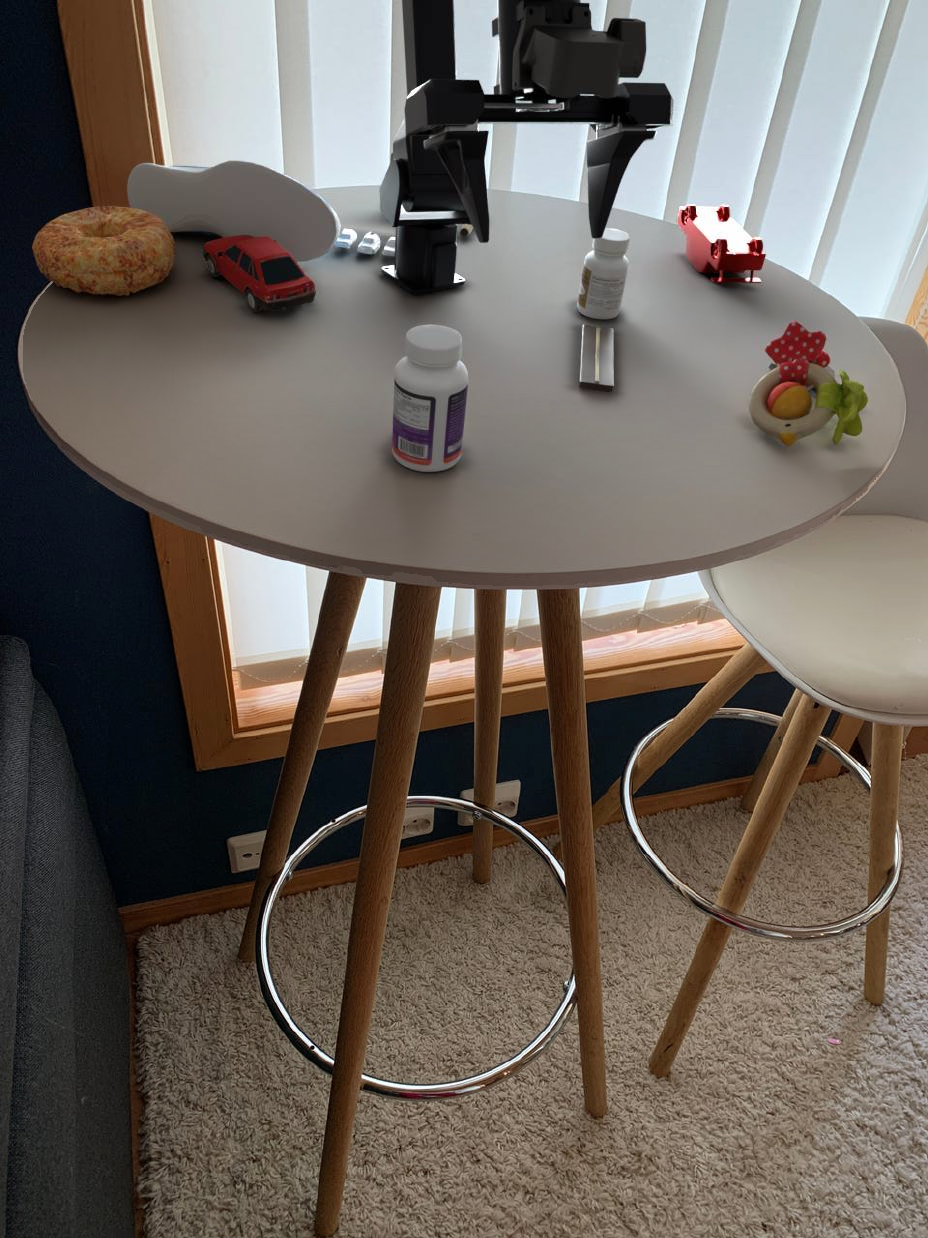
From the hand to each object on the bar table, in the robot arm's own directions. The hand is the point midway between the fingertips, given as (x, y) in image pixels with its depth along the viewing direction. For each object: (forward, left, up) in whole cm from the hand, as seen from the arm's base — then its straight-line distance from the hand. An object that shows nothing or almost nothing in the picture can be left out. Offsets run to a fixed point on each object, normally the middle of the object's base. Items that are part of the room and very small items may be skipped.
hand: (541, 240), depth 70 cm
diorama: (+11, +25, -12) cm, 30 cm away
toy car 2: (-15, +41, -9) cm, 45 cm away
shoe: (-40, -7, -9) cm, 42 cm away
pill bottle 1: (+2, -11, -14) cm, 18 cm away
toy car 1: (-30, -9, -14) cm, 34 cm away
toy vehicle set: (-35, +7, -14) cm, 38 cm away
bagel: (-39, -20, -9) cm, 45 cm away
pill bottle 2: (-12, +20, -14) cm, 27 cm away
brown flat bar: (-4, +12, -14) cm, 19 cm away
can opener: (-39, +21, -13) cm, 46 cm away
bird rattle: (+12, +16, -13) cm, 24 cm away
